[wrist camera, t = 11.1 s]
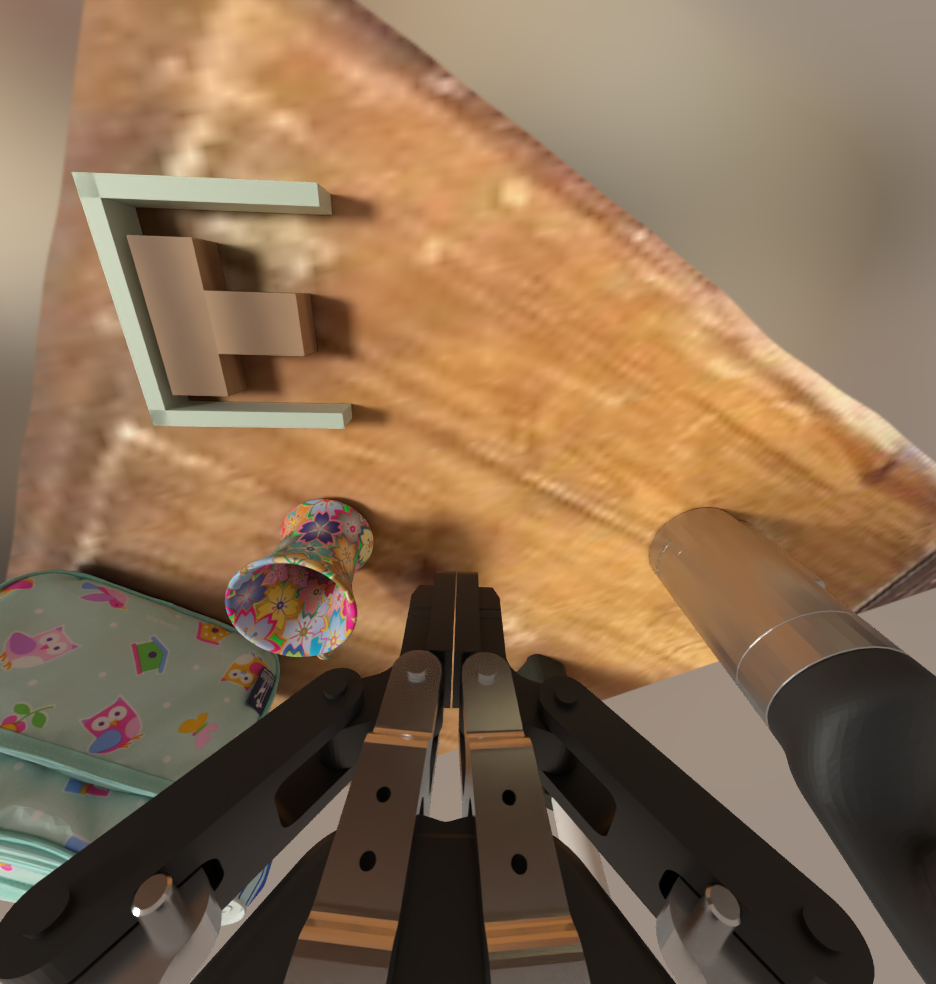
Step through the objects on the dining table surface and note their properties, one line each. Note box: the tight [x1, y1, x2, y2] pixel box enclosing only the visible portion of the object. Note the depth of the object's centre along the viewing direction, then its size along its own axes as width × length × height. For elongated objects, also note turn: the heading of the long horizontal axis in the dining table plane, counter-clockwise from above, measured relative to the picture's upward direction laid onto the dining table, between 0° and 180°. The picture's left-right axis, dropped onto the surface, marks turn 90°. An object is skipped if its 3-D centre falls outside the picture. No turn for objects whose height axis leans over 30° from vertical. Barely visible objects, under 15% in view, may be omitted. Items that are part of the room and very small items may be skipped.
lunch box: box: [0, 570, 280, 903], centre depth 34 cm, size 27×10×21 cm, turn 57°
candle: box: [516, 654, 611, 898], centre depth 37 cm, size 5×5×25 cm
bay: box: [72, 172, 352, 429], centre depth 29 cm, size 14×15×3 cm
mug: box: [225, 499, 373, 660], centre depth 35 cm, size 12×9×11 cm
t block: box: [126, 235, 318, 396], centre depth 29 cm, size 10×10×3 cm
